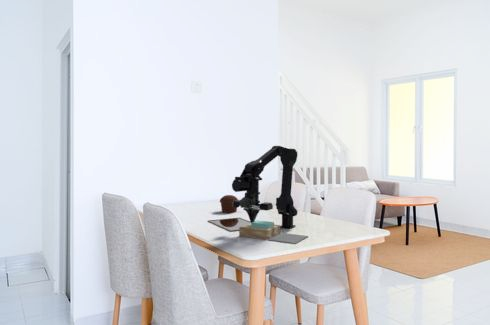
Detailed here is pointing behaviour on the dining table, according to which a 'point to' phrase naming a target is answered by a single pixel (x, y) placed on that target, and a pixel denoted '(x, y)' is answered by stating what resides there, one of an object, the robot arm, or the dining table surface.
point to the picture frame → (230, 223)
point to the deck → (258, 232)
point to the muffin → (228, 204)
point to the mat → (288, 238)
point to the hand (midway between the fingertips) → (252, 223)
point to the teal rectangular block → (262, 224)
